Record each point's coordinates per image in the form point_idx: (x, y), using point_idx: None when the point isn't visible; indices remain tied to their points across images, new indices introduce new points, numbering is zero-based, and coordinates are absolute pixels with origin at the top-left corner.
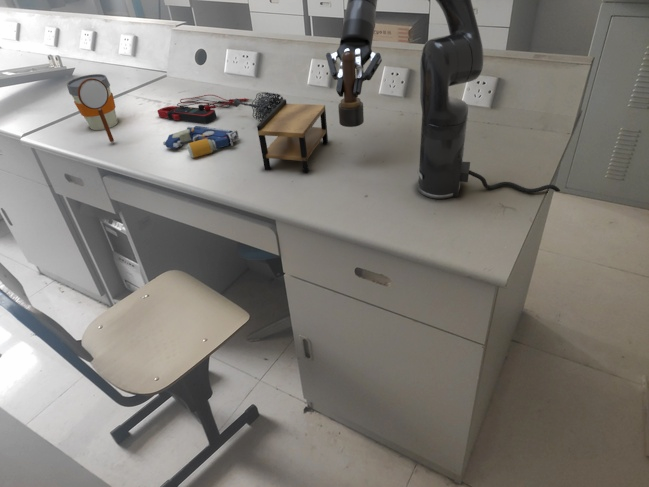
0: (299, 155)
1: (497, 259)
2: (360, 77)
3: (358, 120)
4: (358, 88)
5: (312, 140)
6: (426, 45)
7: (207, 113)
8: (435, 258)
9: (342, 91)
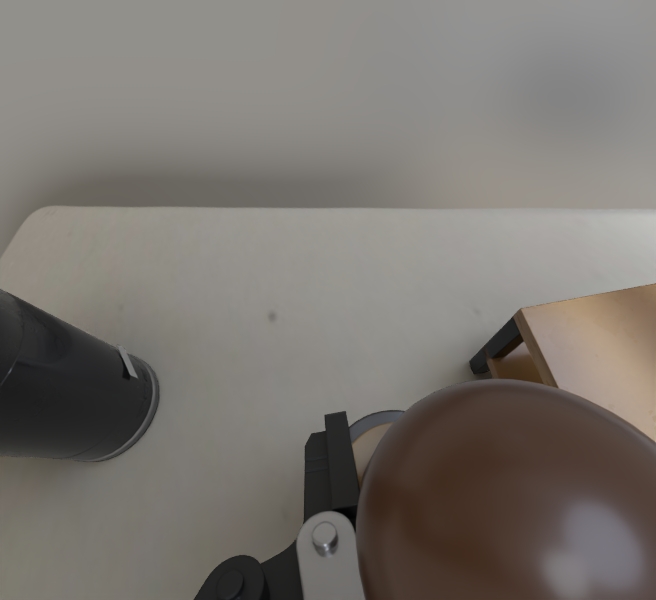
0: (514, 349)
1: (31, 235)
2: (306, 523)
3: None
4: (316, 452)
5: None
6: None
7: None
8: (120, 207)
9: None
